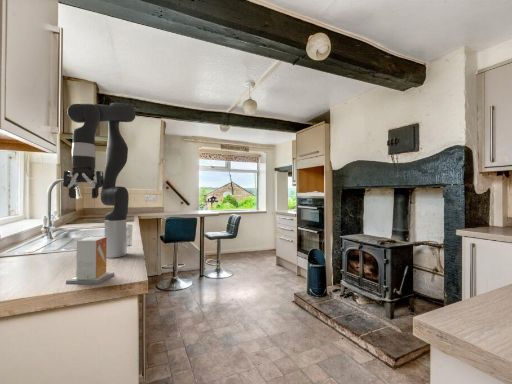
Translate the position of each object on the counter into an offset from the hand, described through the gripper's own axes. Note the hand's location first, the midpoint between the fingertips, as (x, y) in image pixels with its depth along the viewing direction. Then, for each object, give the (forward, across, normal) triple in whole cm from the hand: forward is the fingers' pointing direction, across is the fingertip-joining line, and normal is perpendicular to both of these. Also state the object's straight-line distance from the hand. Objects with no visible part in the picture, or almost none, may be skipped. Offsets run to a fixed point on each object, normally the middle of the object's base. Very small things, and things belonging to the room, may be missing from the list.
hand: (83, 198), depth 99 cm
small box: (+27, -9, +8) cm, 30 cm away
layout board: (+28, -9, +8) cm, 31 cm away
